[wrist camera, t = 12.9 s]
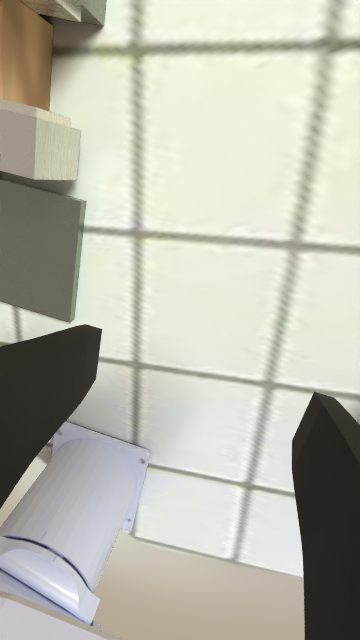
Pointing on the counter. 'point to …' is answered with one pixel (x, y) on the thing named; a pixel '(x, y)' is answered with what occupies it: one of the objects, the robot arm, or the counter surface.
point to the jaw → (37, 143)
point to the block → (25, 55)
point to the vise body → (44, 218)
